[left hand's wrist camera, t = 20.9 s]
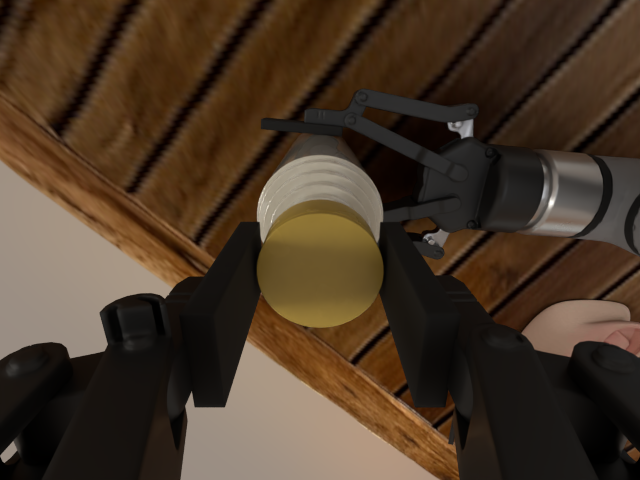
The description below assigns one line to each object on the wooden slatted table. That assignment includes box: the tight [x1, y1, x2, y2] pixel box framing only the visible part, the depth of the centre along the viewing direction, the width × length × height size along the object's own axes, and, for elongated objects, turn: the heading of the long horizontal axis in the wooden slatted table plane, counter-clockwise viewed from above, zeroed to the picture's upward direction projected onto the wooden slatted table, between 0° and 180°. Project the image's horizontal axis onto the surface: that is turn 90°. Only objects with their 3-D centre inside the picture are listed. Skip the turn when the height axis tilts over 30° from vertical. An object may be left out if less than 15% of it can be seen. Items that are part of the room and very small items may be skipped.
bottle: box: [257, 133, 383, 243], centre depth 25 cm, size 7×7×26 cm
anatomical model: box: [521, 300, 640, 357], centre depth 43 cm, size 13×4×12 cm
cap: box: [257, 199, 384, 327], centre depth 13 cm, size 4×5×2 cm
